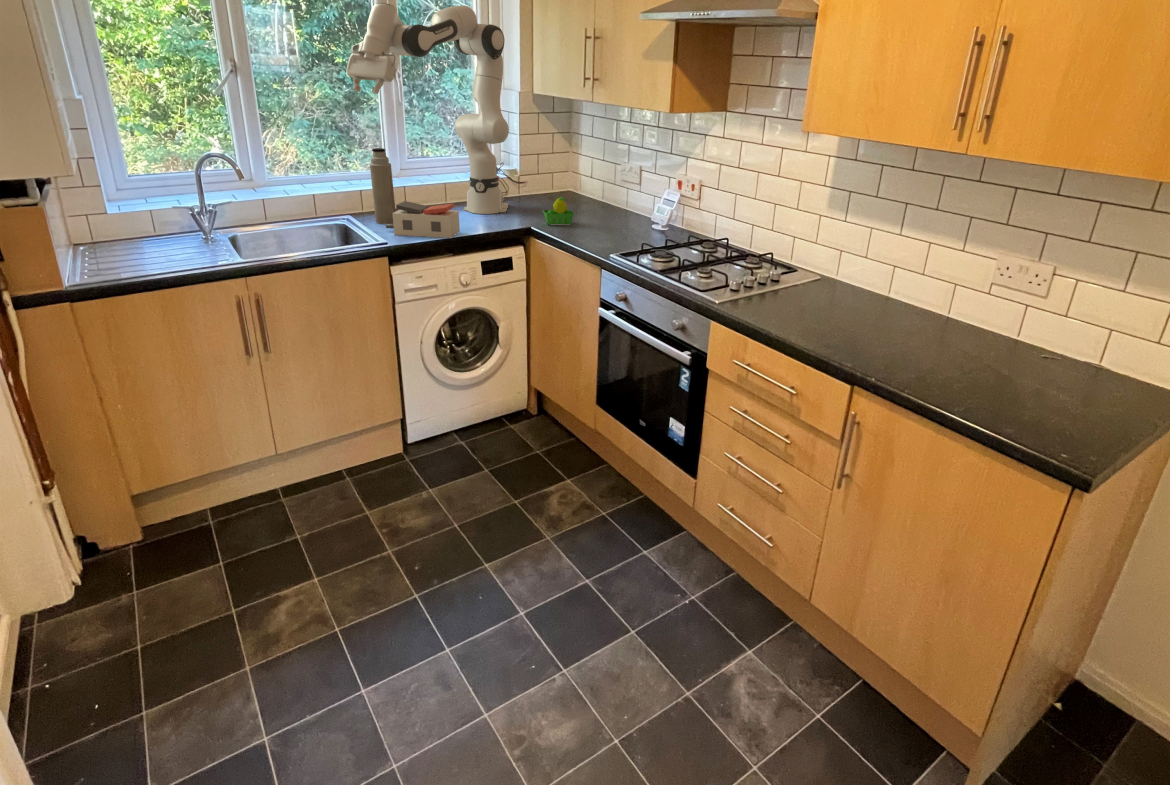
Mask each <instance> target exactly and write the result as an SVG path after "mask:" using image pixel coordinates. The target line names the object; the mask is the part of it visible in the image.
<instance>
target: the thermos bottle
mask: <svg viewBox="0 0 1170 785" xmlns="http://www.w3.org/2000/svg"><path fill="white" fill-rule="evenodd" d="M371 151H372V157H371V158H370V164H369V170H370V178H371V179H370V180H371V181H370V182H371V189H372V196H373V205H374V206H373V207H374V216H375V217H374V218H375V223H376V224H379V225H386V224H393V214H392V213H394V212H396V211H397V210H396V203H395V193H394V182H393V172H392V171H393V170H392V163H390V160H389V157H388V156H387V154H386V148H380V147H378V148H377V147H375V148H371Z"/></svg>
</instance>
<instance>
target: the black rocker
mask: <svg viewBox="0 0 1170 785" xmlns="http://www.w3.org/2000/svg"><path fill="white" fill-rule="evenodd" d="M427 208H429V207H428V205H424V204H421V203H416V202H410V201H407V200H403V201H402V202H399V203H398V204H395V210H404V211H406V212H407V213H410V212H413V213H417V214H420V213H422V212H424V211H423V210H425V209H427Z"/></svg>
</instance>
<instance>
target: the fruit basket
mask: <svg viewBox="0 0 1170 785" xmlns="http://www.w3.org/2000/svg"><path fill="white" fill-rule="evenodd" d="M567 206H568V205H567V203H566V201H565V198H564V197H562V196H560V197H558V198H556V200H555V201H554V203H553V204H552V207H553V208H552V209H544V210H542V212H543V215H544V220H545V223H546V222H547V223H548V224H549V225H551V224H572V220H573V217H574V211H572V210H571V209H568V208H567ZM547 223H546V224H547ZM548 224H547V225H548Z"/></svg>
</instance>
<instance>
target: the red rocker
mask: <svg viewBox="0 0 1170 785" xmlns="http://www.w3.org/2000/svg"><path fill="white" fill-rule="evenodd" d="M452 209H455V203H446V204H439V205H432V206H431V205H430V206H429V207H428V208H427V209H425V210H423V211H424V214H431V213H434V214H438V213H440V212H447V211H449V210H450V211H451V210H452Z"/></svg>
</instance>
